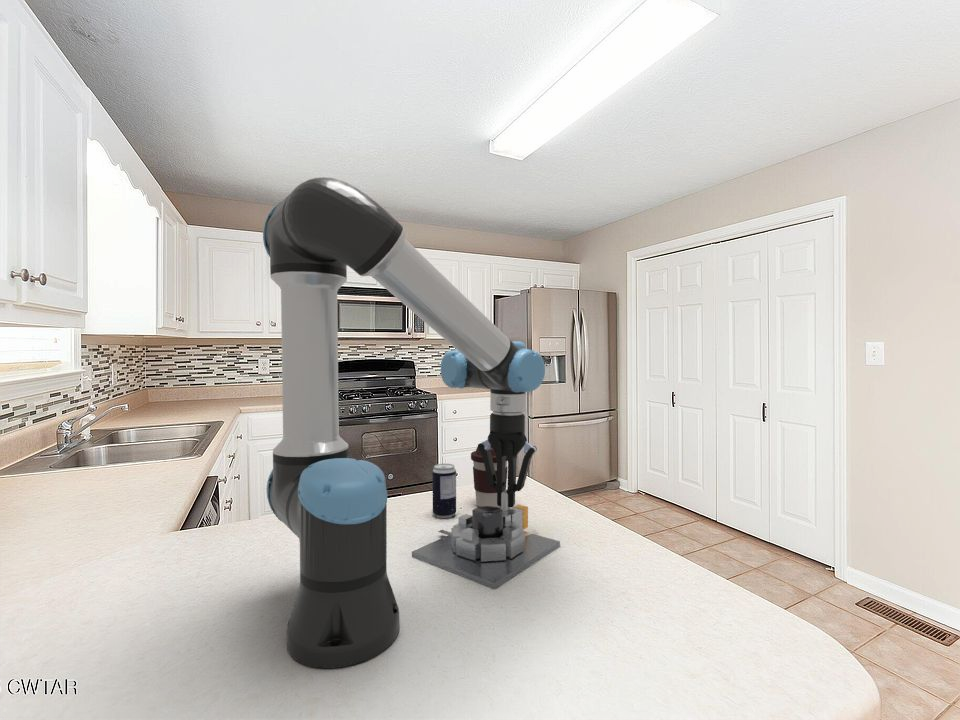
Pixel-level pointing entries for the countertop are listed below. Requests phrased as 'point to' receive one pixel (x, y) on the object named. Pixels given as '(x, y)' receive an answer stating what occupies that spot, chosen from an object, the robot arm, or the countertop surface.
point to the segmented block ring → (491, 548)
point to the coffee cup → (485, 480)
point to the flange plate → (486, 571)
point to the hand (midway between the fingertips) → (505, 520)
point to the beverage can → (444, 490)
